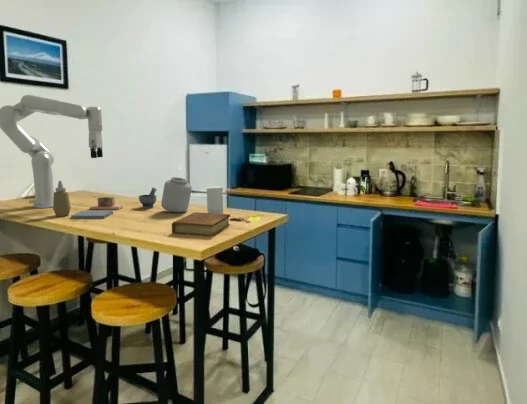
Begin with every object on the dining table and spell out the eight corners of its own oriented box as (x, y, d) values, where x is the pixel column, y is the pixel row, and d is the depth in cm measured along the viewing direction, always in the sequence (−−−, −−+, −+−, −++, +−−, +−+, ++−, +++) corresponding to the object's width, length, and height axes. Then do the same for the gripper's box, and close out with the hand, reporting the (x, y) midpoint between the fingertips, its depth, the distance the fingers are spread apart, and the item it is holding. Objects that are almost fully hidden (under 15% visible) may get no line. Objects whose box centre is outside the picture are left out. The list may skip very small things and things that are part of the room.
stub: (89, 209, 218) (88, 198, 217) (94, 206, 226) (94, 196, 225) (118, 209, 219) (118, 198, 218) (122, 206, 227) (122, 196, 226)
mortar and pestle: (135, 207, 226) (135, 187, 224) (146, 205, 234) (146, 185, 232) (151, 209, 221) (150, 188, 219) (161, 207, 230) (161, 186, 228)
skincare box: (222, 214, 209) (222, 186, 206) (223, 217, 202) (223, 187, 200) (206, 215, 207) (206, 186, 205) (207, 217, 201) (206, 187, 198)
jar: (199, 210, 220) (199, 166, 216) (187, 215, 206) (186, 168, 202) (170, 208, 226) (169, 165, 222) (156, 212, 212) (154, 166, 208)
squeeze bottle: (74, 214, 204) (72, 180, 201) (62, 217, 196) (59, 182, 193) (62, 213, 206) (60, 179, 204) (49, 216, 199) (47, 181, 196)
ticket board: (71, 218, 194) (71, 215, 194) (82, 213, 208) (82, 210, 208) (104, 218, 195) (104, 215, 195) (113, 213, 209) (112, 210, 209)
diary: (193, 223, 189) (193, 212, 188) (230, 226, 185) (230, 214, 184) (171, 234, 167) (171, 221, 166) (212, 237, 163) (212, 224, 162)
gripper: (94, 128, 237) (95, 156, 240) (83, 127, 220) (84, 158, 223) (106, 128, 238) (108, 157, 241) (96, 128, 221) (98, 158, 223)
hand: (96, 157), depth 232 cm, fingers open, 9 cm apart
